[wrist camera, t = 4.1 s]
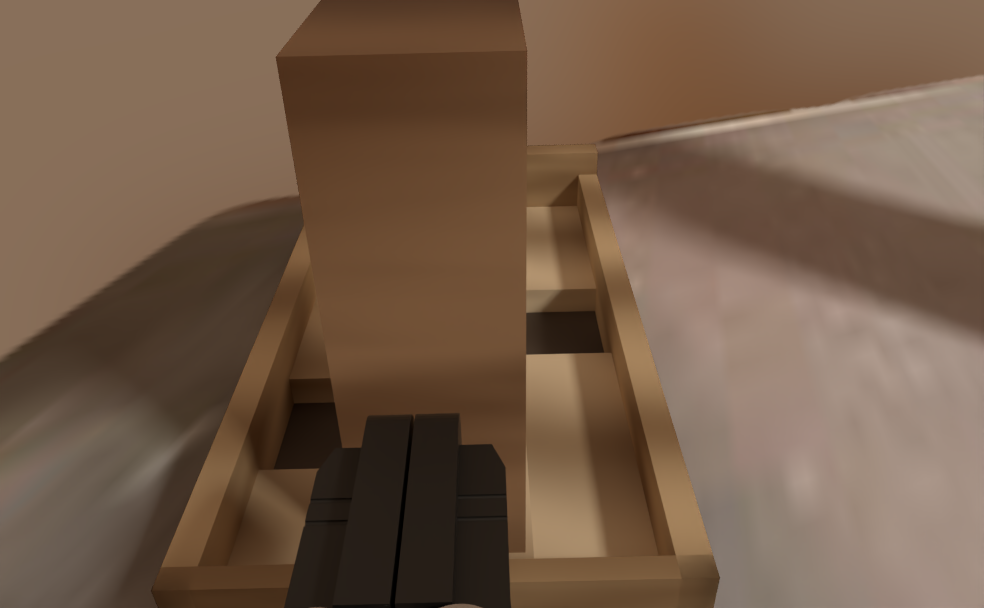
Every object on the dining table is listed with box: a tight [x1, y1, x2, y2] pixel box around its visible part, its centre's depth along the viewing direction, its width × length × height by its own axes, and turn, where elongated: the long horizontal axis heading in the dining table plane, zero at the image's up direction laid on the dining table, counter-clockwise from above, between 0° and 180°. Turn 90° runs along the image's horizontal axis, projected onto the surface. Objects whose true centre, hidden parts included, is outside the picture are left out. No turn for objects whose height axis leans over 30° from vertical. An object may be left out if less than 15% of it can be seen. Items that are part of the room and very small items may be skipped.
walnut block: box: [276, 0, 527, 553], centre depth 18 cm, size 6×4×12 cm, turn 1°
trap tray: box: [151, 144, 720, 608], centre depth 26 cm, size 22×12×4 cm, turn 1°
